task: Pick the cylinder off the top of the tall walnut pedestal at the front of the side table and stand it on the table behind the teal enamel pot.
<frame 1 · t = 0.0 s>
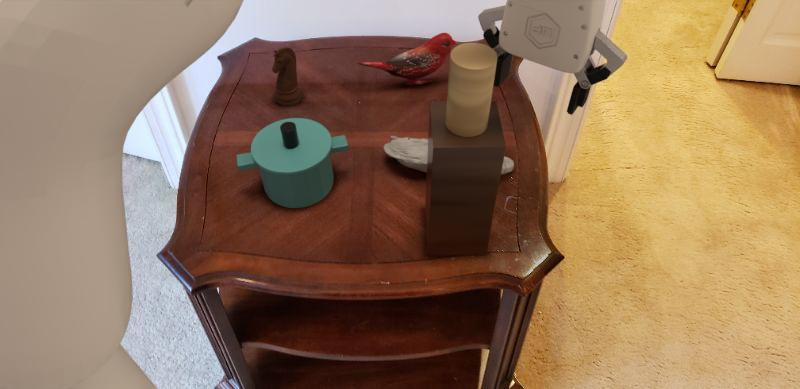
hand: (536, 94, 68), 19 cm above the table, tool pointing down, fingers open, 9 cm apart
decorative bird figurine: (407, 86, 101), on the table
cylinder: (466, 123, 63), point 20 cm above the table, touching pedestal
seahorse: (448, 167, 87), on the table
pedestal: (454, 232, 78), on the table
chess piece: (290, 98, 99), on the table
pot lid: (291, 146, 79), point 7 cm above the table, touching pot
pot: (299, 182, 85), on the table
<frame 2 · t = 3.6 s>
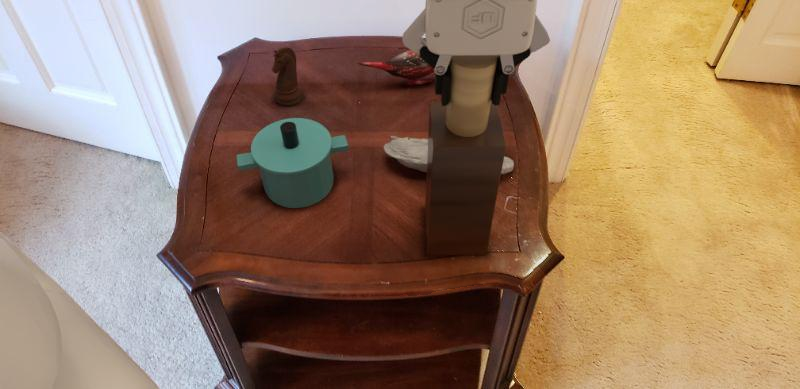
hand: (469, 96, 60), 24 cm above the table, tool pointing down, fingers closed on cylinder, 4 cm apart
cylinder: (466, 123, 63), point 20 cm above the table, touching gripper, pedestal
everything else where it was.
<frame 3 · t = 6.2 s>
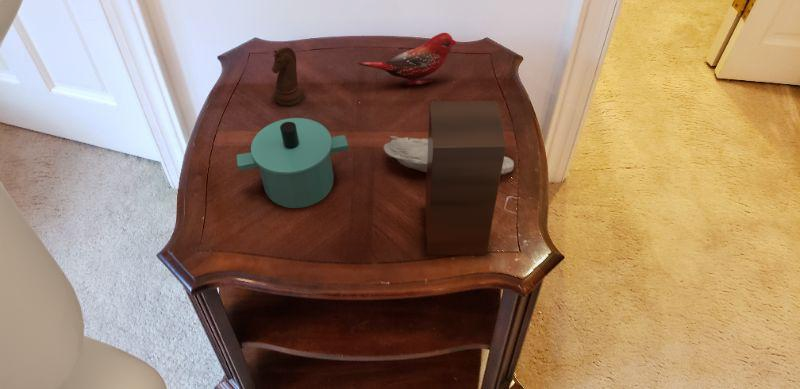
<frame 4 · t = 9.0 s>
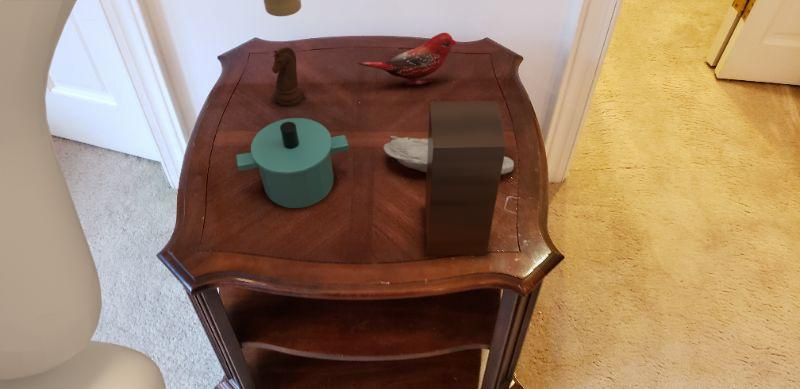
cylinder: (283, 7, 74), point 23 cm above the table, touching gripper
everything else where it was.
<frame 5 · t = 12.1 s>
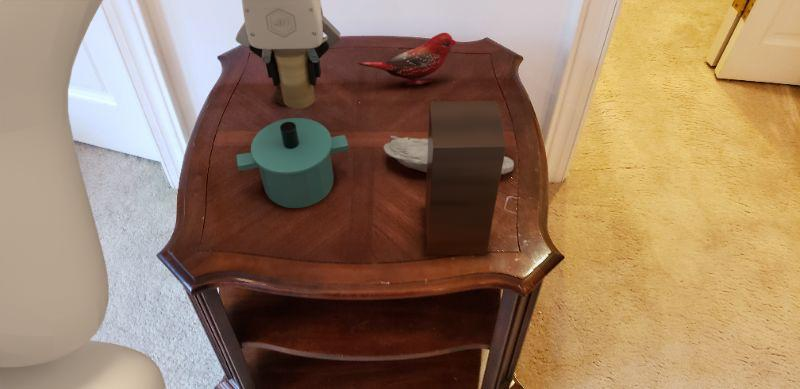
hand: (295, 79, 83), 12 cm above the table, tool pointing down, fingers closed on cylinder, 4 cm apart
cylinder: (299, 99, 85), point 8 cm above the table, touching gripper
everything else where it was.
when the fingers open (4 cm above the table, at t = 14.4 s): cylinder stays where it is, on the table.
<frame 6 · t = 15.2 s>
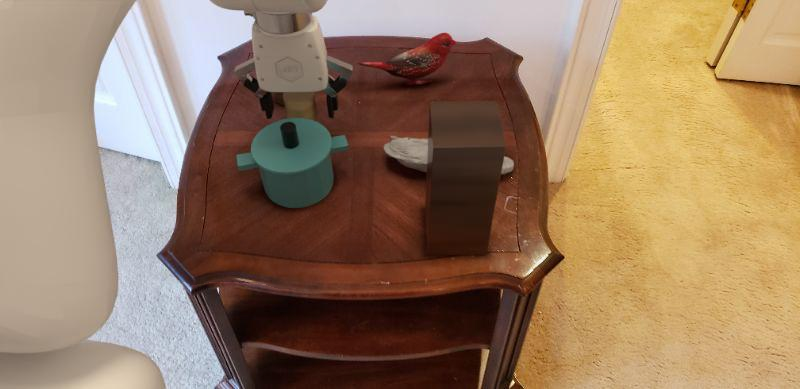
hand: (301, 113, 87), 6 cm above the table, tool pointing down, fingers open, 9 cm apart
cylinder: (306, 138, 91), on the table
everything else where it was.
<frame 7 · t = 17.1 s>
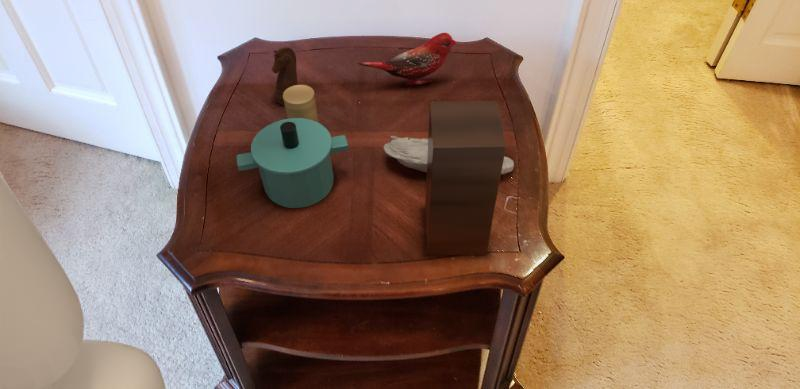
nothing on the table moved.
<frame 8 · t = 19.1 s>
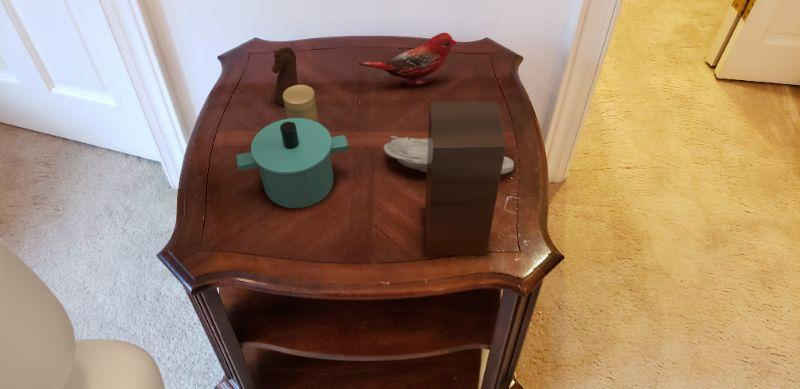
nothing on the table moved.
at the end: cylinder inside the target area on the table beside the pot (0.4 cm from its centre), on the table; cylinder tilted 0°; the gripper is holding nothing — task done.
